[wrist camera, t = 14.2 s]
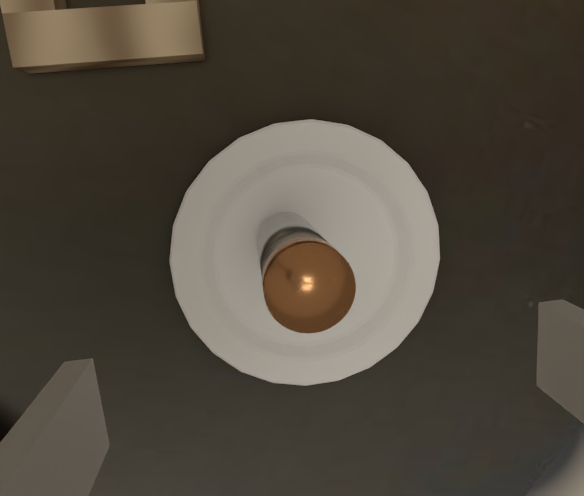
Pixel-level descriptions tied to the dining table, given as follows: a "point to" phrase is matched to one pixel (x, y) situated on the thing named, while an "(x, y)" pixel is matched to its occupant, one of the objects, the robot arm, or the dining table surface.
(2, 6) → the socket block
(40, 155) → the dining table surface
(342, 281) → the clear jar
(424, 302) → the plate
